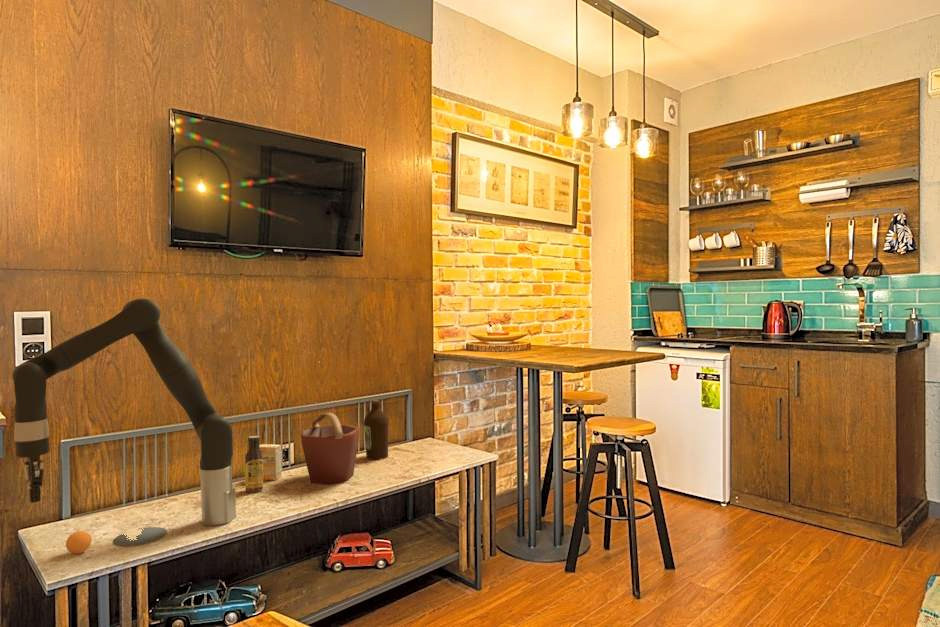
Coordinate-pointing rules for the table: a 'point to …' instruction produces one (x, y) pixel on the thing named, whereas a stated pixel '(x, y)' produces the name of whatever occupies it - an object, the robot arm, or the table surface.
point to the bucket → (330, 450)
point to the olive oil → (376, 433)
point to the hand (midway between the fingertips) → (35, 501)
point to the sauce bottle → (254, 466)
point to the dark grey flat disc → (141, 537)
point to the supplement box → (271, 461)
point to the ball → (78, 542)
